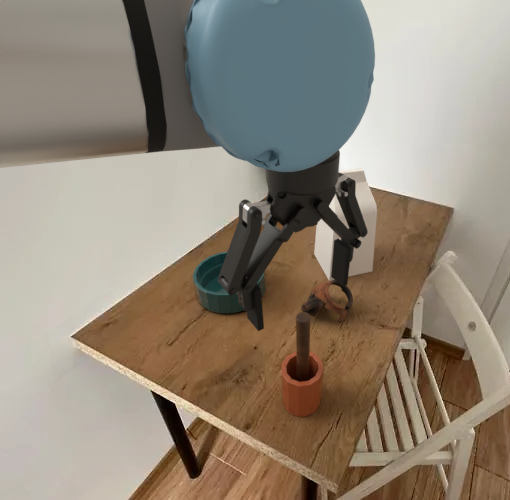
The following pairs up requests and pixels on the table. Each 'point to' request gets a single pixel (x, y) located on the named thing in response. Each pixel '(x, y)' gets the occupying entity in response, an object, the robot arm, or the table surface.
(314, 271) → the table surface
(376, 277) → the table surface
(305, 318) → the stirring stick
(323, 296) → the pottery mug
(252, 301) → the robot arm
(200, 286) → the bowl
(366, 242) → the milk
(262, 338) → the table surface
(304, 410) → the crock
